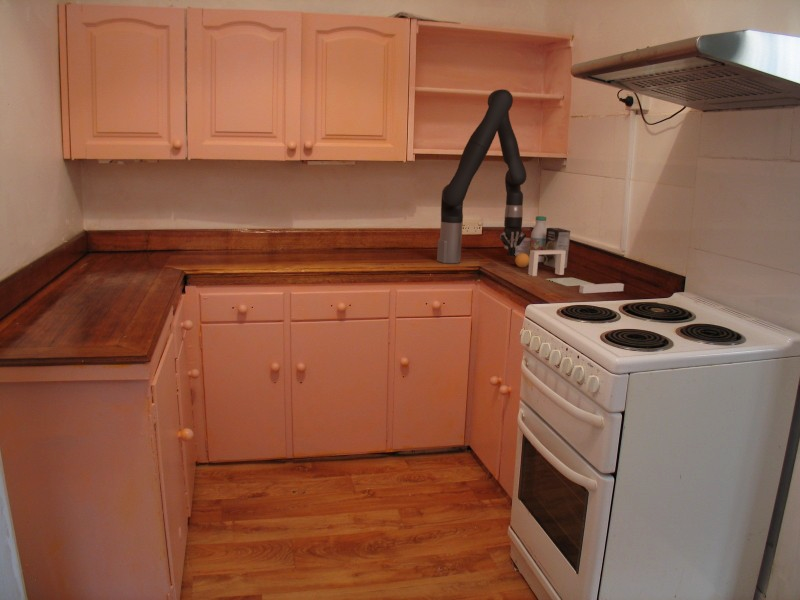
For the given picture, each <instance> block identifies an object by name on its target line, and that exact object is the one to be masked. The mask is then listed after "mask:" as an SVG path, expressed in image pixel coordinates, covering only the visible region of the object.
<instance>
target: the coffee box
mask: <svg viewBox="0 0 800 600" xmlns="http://www.w3.org/2000/svg"><path fill="white" fill-rule="evenodd" d="M546 229H547V231H546V242H545V250H565V251H566V255H565V265H564V269H566V268H567V265H568V257H569V247H570V239H571V237H570V236H571V230H569V229H565V228H561V227H546ZM556 257H557V254H544V262H543V265H544V266H547V267H551V268H553V269H555V268H556Z"/></svg>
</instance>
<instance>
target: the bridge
mask: <svg viewBox="0 0 800 600" xmlns="http://www.w3.org/2000/svg"><path fill="white" fill-rule="evenodd" d="M540 254H557V257H556V268H554V269H555V270H554V274H556V275H559V276H560V275H561V276H562V275H565V274H564V273H565V268H564V265H565V255H566V251H565V250H530V258H529V264H528V274H529V275H528V274H527V275H528V276H531V275H532V276H531V277H537V275H538V264H539V262H538V256H539V255H540Z"/></svg>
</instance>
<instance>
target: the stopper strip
mask: <svg viewBox="0 0 800 600" xmlns="http://www.w3.org/2000/svg"><path fill="white" fill-rule="evenodd" d="M593 284H594V285H579V290H578V292H579V293H580V294H593V293H594V294H595V293H596V294H597V293H609V292H610V293H613V292H624V287H625V284H624V283H621V282H615V283H598V284H596V283H593Z"/></svg>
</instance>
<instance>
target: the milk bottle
mask: <svg viewBox="0 0 800 600" xmlns="http://www.w3.org/2000/svg"><path fill="white" fill-rule="evenodd" d="M546 222H547V217H546V216H543V215H539V216H538V215H537V216H535V225H534V227H533V229H532V231H531V234H530V238H531V239H530V249H529V258H530V250H545V242H546V231H547V225H546ZM538 263H544V254H540V255H539V256H538Z"/></svg>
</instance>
